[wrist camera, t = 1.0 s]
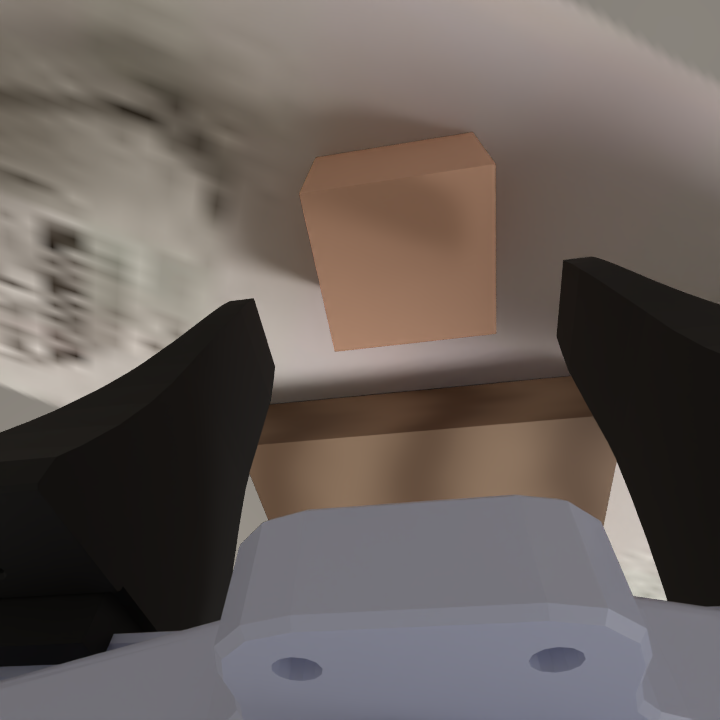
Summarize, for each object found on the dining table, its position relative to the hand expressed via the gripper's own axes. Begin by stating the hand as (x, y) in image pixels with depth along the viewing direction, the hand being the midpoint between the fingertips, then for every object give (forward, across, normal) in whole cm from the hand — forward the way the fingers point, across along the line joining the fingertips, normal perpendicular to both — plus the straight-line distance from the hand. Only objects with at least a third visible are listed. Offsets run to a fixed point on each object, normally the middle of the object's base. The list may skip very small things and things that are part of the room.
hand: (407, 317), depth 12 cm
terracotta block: (+7, 0, 0) cm, 7 cm away
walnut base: (+6, 0, +15) cm, 16 cm away
